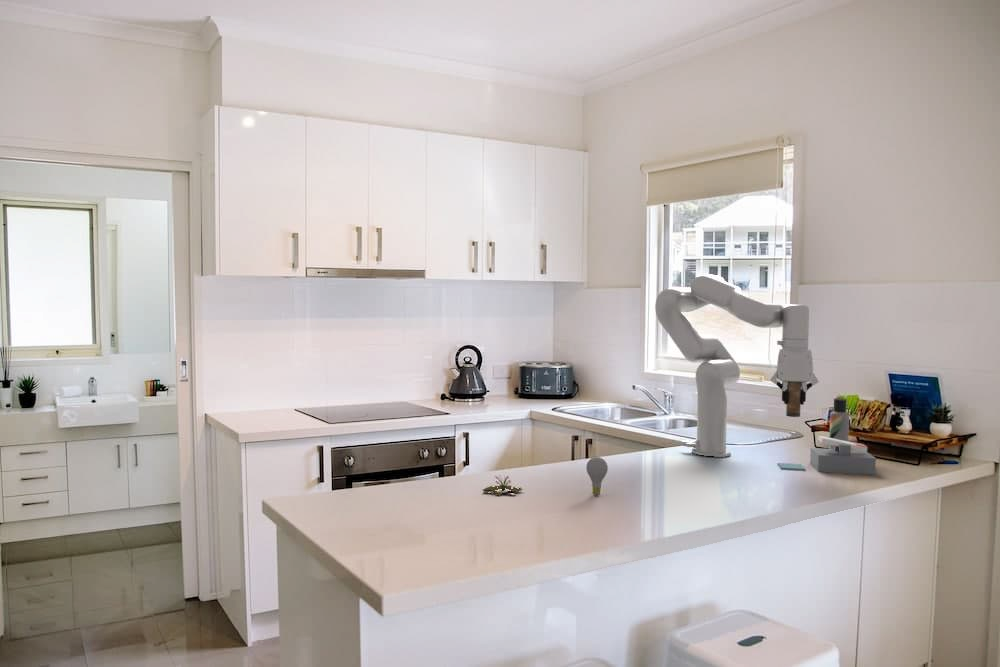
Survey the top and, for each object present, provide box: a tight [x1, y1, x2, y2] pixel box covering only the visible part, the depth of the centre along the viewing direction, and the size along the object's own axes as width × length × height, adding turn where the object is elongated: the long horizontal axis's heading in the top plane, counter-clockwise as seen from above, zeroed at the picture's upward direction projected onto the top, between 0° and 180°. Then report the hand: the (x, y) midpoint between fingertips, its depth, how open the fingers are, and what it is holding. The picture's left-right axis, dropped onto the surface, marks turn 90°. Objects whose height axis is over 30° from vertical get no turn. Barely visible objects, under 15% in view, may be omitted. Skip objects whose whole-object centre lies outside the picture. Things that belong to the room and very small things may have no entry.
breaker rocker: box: [818, 435, 868, 452], centre depth 231 cm, size 13×5×2 cm, turn 78°
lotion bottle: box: [828, 396, 850, 449], centre depth 248 cm, size 6×6×20 cm
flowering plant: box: [482, 474, 522, 496], centre depth 197 cm, size 12×12×5 cm
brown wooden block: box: [785, 382, 801, 418], centre depth 231 cm, size 4×4×14 cm
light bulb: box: [585, 456, 609, 496], centre depth 194 cm, size 5×6×10 cm
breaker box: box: [809, 445, 877, 476], centre depth 231 cm, size 16×12×8 cm
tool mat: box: [777, 462, 806, 471], centre depth 232 cm, size 7×7×1 cm
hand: (793, 403), depth 231 cm, fingers closed on brown wooden block, 4 cm apart
